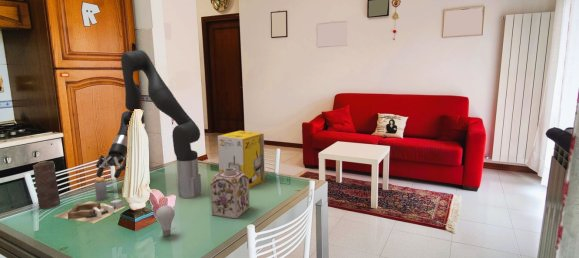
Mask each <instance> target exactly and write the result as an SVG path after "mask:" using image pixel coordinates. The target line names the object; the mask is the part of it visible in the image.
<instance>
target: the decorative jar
mask: <svg viewBox="0 0 579 258" xmlns="http://www.w3.org/2000/svg"><path fill="white" fill-rule="evenodd" d="M210 203H211V207H210V208H211V215H212V216H218V217H221V218H222V217H223V218H224V217H225V218H229V219H238V218H239V217H241V215H243V214H244V213H245V212H246V211H247V210H248V209H249V208H250V188H249V178H248V177H247V176H246V174H244V173H243V172H241V171H236V169H235V168H226V169H224V171H222V172H219V171H218V172H217V173H215V174H214V176H213V178H212V180H211V181H210Z"/></svg>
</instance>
